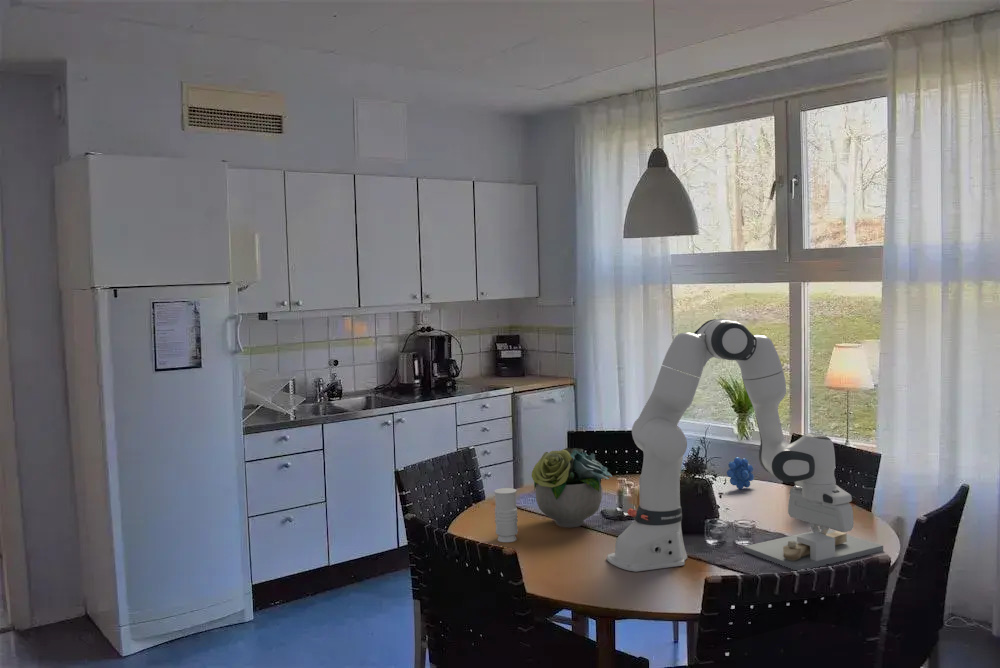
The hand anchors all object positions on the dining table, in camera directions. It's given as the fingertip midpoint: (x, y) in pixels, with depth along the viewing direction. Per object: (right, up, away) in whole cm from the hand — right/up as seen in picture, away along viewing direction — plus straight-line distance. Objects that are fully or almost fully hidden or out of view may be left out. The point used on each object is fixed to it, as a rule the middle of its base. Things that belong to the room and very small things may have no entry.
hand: (819, 540), depth 237 cm
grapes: (-2, +1, +70) cm, 70 cm away
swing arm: (-4, -1, -6) cm, 7 cm away
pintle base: (-2, -3, -1) cm, 4 cm away
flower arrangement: (-67, -3, +34) cm, 75 cm away
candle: (-88, -5, +20) cm, 90 cm away
